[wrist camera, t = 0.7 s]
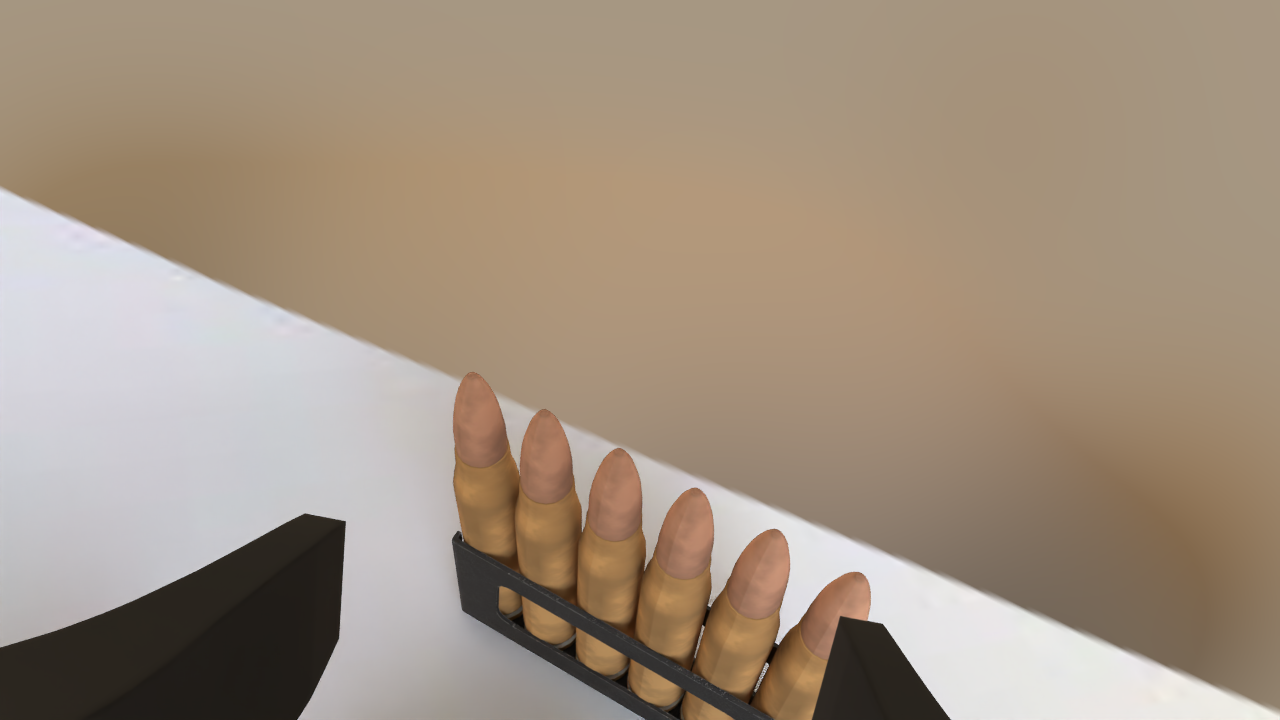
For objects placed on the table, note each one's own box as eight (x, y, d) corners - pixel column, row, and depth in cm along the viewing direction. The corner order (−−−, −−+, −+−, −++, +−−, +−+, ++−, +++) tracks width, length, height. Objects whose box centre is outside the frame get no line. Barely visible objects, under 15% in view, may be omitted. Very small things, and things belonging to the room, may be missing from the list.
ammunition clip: (806, 738, 29) (924, 561, 19) (779, 798, 28) (889, 643, 18) (495, 560, 32) (460, 325, 22) (459, 609, 31) (407, 386, 21)
